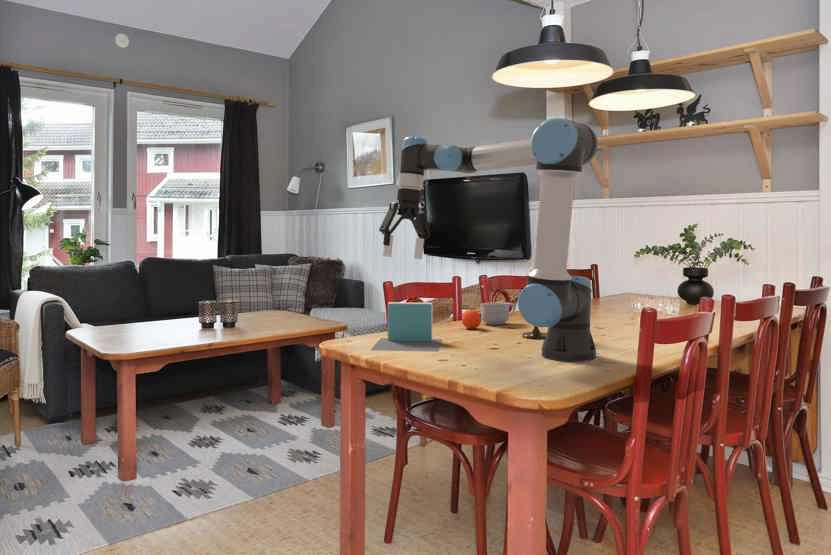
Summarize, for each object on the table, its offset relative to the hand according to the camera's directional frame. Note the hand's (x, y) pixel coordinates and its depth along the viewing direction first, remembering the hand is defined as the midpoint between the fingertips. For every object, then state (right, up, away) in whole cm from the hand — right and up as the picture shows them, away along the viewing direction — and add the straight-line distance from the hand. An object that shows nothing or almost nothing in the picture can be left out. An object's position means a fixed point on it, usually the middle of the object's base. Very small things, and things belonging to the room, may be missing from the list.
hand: (403, 257), depth 202 cm
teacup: (+35, -24, +44) cm, 61 cm away
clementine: (+23, -25, +33) cm, 47 cm away
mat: (+2, -27, +1) cm, 27 cm away
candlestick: (+44, -26, +16) cm, 54 cm away
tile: (+2, -26, +7) cm, 27 cm away
